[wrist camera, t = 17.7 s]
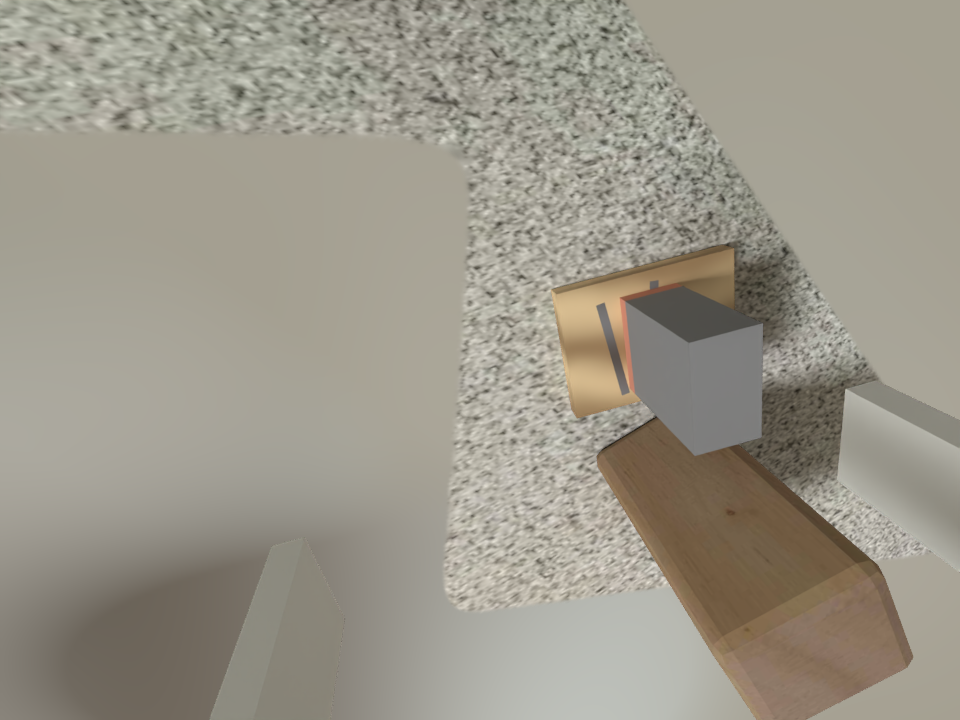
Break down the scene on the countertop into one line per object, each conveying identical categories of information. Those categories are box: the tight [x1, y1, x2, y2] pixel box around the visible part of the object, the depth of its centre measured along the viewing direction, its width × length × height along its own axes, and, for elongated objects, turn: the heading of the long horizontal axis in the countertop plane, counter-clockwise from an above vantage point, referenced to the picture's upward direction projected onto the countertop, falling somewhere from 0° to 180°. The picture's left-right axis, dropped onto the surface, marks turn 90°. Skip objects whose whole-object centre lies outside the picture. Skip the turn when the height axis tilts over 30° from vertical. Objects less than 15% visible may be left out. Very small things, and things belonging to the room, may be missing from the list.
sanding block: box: [620, 283, 763, 456], centre depth 34 cm, size 8×4×10 cm, turn 13°
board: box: [551, 245, 735, 418], centre depth 39 cm, size 11×14×2 cm
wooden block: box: [597, 417, 913, 720], centre depth 36 cm, size 10×10×20 cm
